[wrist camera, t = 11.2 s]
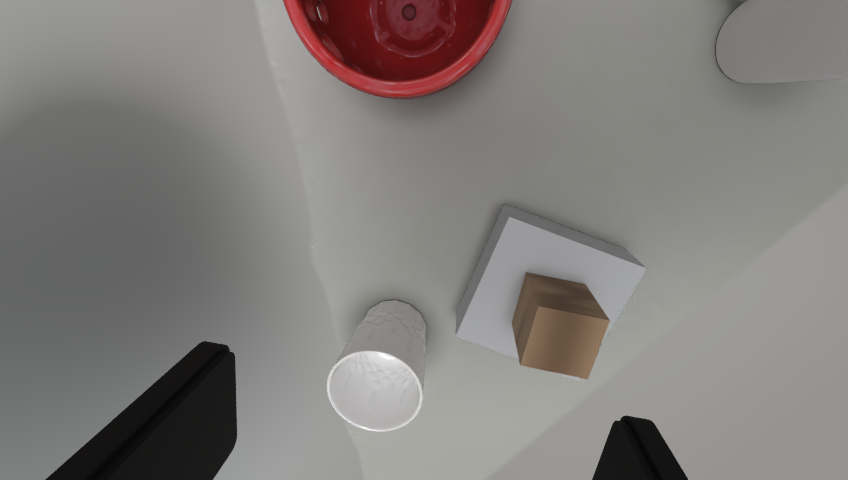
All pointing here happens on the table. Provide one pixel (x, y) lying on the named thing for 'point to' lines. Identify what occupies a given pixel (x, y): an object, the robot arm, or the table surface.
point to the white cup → (381, 369)
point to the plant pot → (398, 41)
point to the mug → (785, 41)
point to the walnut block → (558, 325)
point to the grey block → (544, 255)
